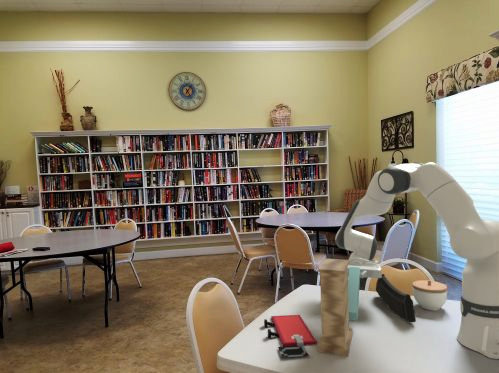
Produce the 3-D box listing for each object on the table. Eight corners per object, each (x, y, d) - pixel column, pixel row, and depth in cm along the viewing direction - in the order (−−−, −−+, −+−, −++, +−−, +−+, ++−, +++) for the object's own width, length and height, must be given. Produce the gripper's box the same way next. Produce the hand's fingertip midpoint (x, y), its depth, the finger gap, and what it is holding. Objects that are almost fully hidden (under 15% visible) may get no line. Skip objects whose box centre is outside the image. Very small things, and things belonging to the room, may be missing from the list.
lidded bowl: (406, 306, 138) (406, 279, 137) (421, 299, 145) (421, 273, 145) (438, 315, 127) (438, 287, 127) (453, 307, 135) (452, 280, 135)
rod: (360, 274, 136) (359, 267, 134) (357, 320, 118) (356, 313, 116) (350, 273, 137) (349, 266, 135) (345, 318, 120) (344, 311, 118)
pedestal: (352, 334, 115) (350, 259, 114) (348, 356, 101) (346, 271, 100) (326, 330, 118) (324, 258, 117) (318, 351, 104) (316, 269, 104)
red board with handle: (275, 360, 100) (324, 357, 101) (275, 351, 100) (324, 348, 101) (261, 320, 130) (299, 318, 131) (261, 313, 130) (299, 311, 131)
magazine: (419, 303, 117) (385, 259, 146) (409, 303, 117) (378, 259, 146) (413, 342, 123) (382, 292, 151) (404, 342, 123) (374, 292, 151)
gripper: (332, 257, 149) (327, 265, 137) (381, 261, 142) (381, 269, 129) (332, 271, 150) (328, 281, 137) (381, 275, 142) (381, 286, 129)
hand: (354, 275), depth 133 cm, fingers closed on rod, 4 cm apart
